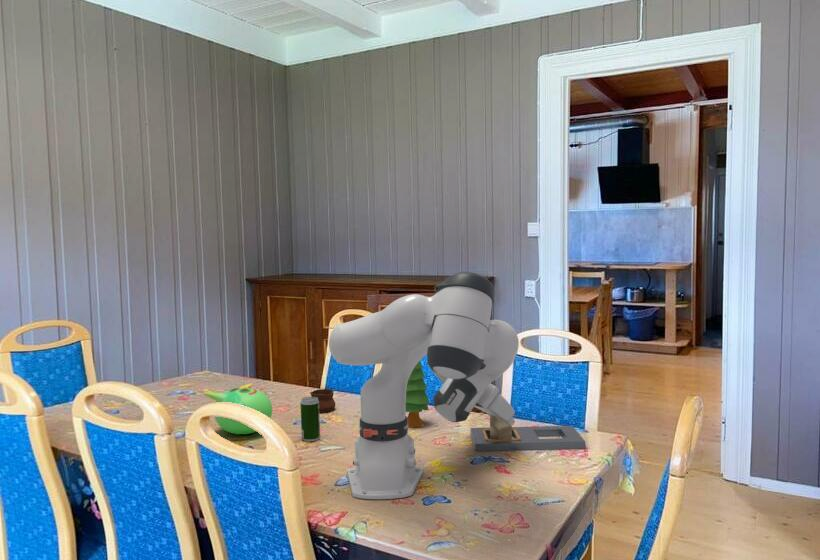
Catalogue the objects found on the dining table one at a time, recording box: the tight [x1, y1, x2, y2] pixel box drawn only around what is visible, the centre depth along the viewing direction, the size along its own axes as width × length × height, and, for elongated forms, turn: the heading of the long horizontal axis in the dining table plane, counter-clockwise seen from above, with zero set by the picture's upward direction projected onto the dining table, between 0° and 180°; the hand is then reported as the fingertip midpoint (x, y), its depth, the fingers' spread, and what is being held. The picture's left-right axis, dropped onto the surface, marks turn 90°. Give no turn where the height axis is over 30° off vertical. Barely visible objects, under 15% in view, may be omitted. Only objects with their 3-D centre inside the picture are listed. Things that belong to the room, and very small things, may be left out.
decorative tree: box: [406, 360, 430, 428], centre depth 195 cm, size 10×9×30 cm
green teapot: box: [203, 383, 273, 435], centre depth 191 cm, size 18×17×15 cm
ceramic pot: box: [310, 388, 336, 414], centre depth 215 cm, size 18×18×7 cm
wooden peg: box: [489, 414, 513, 439], centre depth 178 cm, size 4×4×10 cm
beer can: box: [299, 396, 321, 443], centre depth 184 cm, size 5×5×12 cm
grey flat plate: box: [470, 425, 586, 452], centre depth 178 cm, size 14×30×2 cm, turn 90°
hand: (502, 418), depth 178 cm, fingers open, 8 cm apart
